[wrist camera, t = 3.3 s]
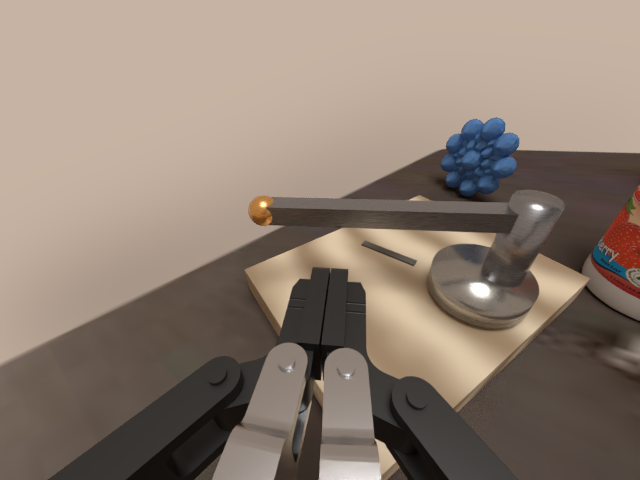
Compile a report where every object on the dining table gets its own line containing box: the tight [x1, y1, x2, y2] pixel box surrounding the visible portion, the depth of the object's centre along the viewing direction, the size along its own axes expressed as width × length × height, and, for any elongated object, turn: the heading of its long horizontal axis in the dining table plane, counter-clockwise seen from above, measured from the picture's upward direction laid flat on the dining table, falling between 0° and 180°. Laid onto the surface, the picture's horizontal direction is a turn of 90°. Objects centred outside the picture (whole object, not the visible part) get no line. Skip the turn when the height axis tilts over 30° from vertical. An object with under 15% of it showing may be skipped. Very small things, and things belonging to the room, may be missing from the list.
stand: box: [245, 195, 590, 480], centre depth 28 cm, size 26×20×3 cm
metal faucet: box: [248, 190, 565, 329], centre depth 23 cm, size 23×8×9 cm, turn 83°
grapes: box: [441, 118, 519, 197], centre depth 41 cm, size 12×7×12 cm, turn 26°
